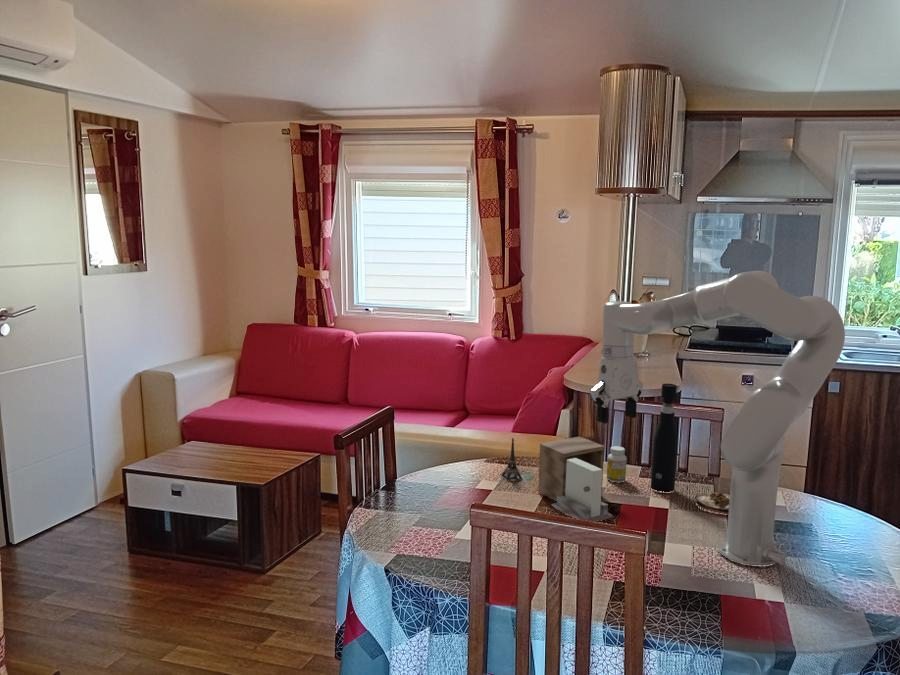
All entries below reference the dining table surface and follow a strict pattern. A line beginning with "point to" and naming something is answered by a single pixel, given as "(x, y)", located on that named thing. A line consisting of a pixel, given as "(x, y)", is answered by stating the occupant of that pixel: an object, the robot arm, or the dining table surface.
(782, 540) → the dining table surface
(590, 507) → the door panel
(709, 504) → the plate of food
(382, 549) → the dining table surface
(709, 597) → the dining table surface
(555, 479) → the cabinet
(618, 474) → the supplement bottle
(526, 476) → the eiffel tower figurine
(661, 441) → the black water bottle
